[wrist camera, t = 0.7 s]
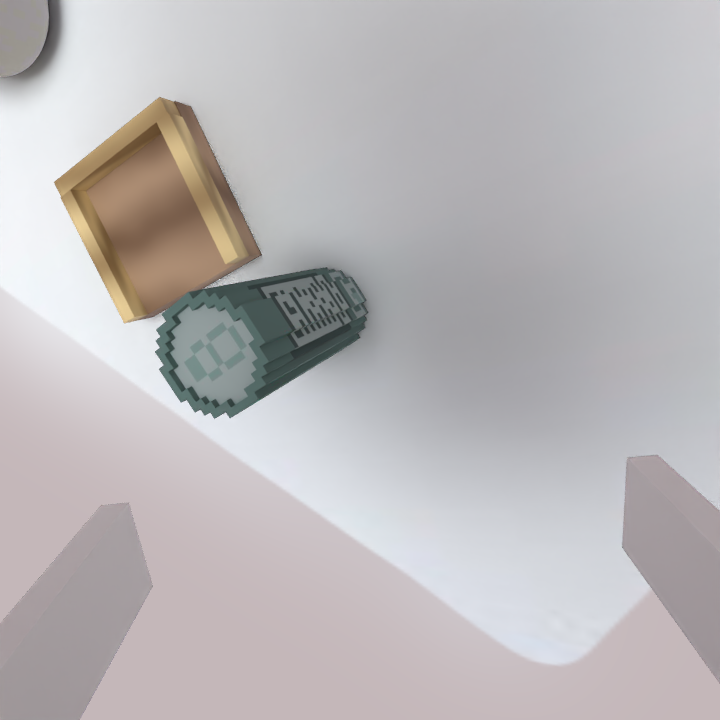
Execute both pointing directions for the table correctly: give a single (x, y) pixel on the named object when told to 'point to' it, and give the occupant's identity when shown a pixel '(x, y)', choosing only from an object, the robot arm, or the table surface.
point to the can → (255, 336)
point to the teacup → (21, 34)
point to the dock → (156, 211)
